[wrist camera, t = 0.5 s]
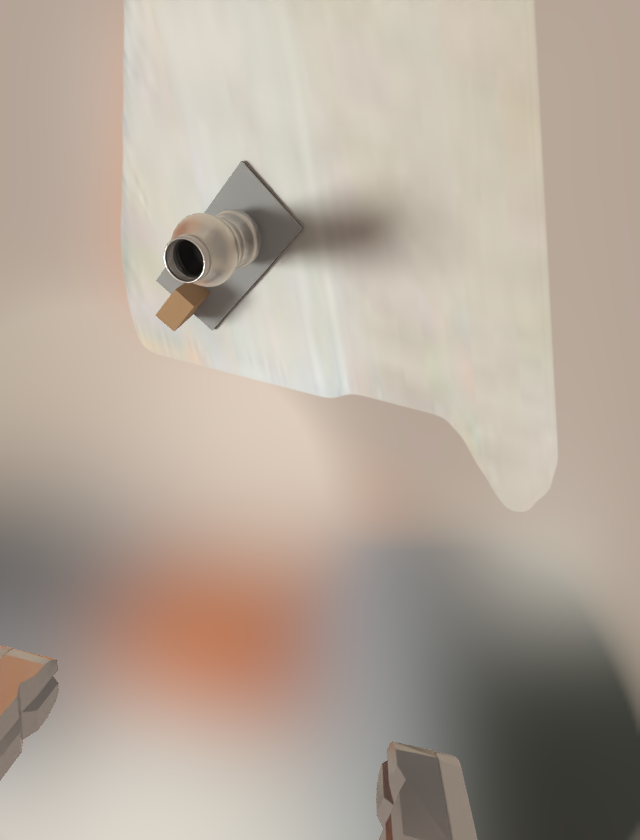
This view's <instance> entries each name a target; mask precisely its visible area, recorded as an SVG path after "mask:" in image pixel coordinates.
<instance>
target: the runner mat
mask: <svg viewBox="0 0 640 840" xmlns="http://www.w3.org/2000/svg"><path fill="white" fill-rule="evenodd" d="M227 209H238V210H241V211H243V212H245V213H247V214H248V215H249V216H250V217H251V218H253V219H254V221H255V222H256V224H257V225H258V228H259V230H260V234H261V247H260V251H259V253H258V256H257V257H256V259H255V260H254V261H253V262H252V263H251V264H250V265H248V266H246V267H243V268H236V269H235V271H234V272H233V274H232V275H231V276H230V278H229V279H227V280H226V281H225V282H224V283H222V284H220V285H218V286H214V287H204V286H199V285H196V284H194V283H182V282H180V281H178V280H176V279H175V278H174V277H172V276H171V274H170V273H169V272H168V270H167V268H165V269H164V271H163V272H162V273H161V275H160V276H159V278H158V279H157V280H156V281H157V282H158V283H159V284H161V285H162V286H163V287H164V288H165V289H166V290H167V291H168V292H170V293H171V296H170V297H169V298H168V299H167V301H166V302H165V303H164V305H163V306H162V307H161V309H160V310H159V311H158V313H157V314H156V316H157V317H158V318H159V319H160V320H161V321H163V322H164V323H165V324H166V325H167V326H168V327H170V328H171V329H172V330H173V331H175V330H176V329H177V328H178V327H180V326H181V325H182V324H183V323H184V322H185V321H186V320H188V319H189V318H190V317H191V316H192V315H193V314H194V315H195V316H197V317H198V318H199V319H200V320H201V321H202V322H203V323H204V324H206V325H207V326H208V327H209V328H210V329H211V330H213V329H214V328H215V327H216V326H217V325H218V323H219V322H220V321H221V320H222V319H223V318H224V317H225V316H226V314H227V313H228V312H229V311H230V310H231V309H232V308H233V307H234V305H235V304H236V303H237V302H238V301H239V300H240V299H241V298H242V296H243V295H244V294H245V293H246V292H247V291H248V290H249V289H250V287H251V286H252V285H253V284H254V283H255V282H256V281H257V280H258V279H259V277H260V276H261V275H262V274H263V273H264V272H265V271H266V270H267V268H268V267H269V266H270V265H271V264H272V263H273V262H274V261H275V259H276V258H277V257H278V256H279V255H280V254H281V253H282V252H283V250H284V249H285V248H286V247H287V246H288V245H289V244H290V243H291V241H292V240H293V239H294V238H295V237H296V236H297V235H298V234H299V232H300V231H301V230H302V229H303V228H302V227H301V226H300V224H299V223H298V222H297V221H296V220H295V219H294V218H293V217H292V216H291V214H290V213H289V212H288V211H287V210H286V209H285V208H284V207H283V205H282V204H281V203H280V202H279V201H278V200H277V199H276V198H275V197H274V195H273V194H272V193H271V192H270V191H269V190H268V189H267V188H266V186H265V185H264V184H263V183H262V182H261V181H260V180H259V179H258V178H257V176H256V175H255V174H254V173H253V172H252V171H251V170H250V169H249V167H248V166H247V165H246V164H245V163H244V162H243V161H241V162H240V164H239V165H238V167H237V168H236V169H235V171H234V172H233V174H232V175H231V176H230V178H229V179H228V181H227V182H226V183H225V185H224V186H223V188H222V189H221V190H220V192H219V193H218V195H217V196H216V197H215V199H214V200H213V202H212V203H211V204H210V206H209V207H208V209H207V210H206V211H205V213H204V214H210V215H213V216H216V215H218V214H219V213H220V212H222V211H224V210H227Z"/></svg>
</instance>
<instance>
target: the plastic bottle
mask: <svg viewBox="0 0 640 840" xmlns="http://www.w3.org/2000/svg"><path fill="white" fill-rule="evenodd" d="M260 247H261V234H260V230H259V228H258V225H257V224H256V222H255V221H254V219H253V218H251V217H250V216H249V215H248V214H247V213H245V212H243V211H241V210H238V209H227V210H224V211H222V212H220V213H219V214H218V215H216V216H213V215H210V214H204V213H197V214H192V215H189V216H187V217H185V218H184V219H183V220H182V221H181V222H180V223H179V224H178V225H177V227H176V228H175V230H174V232H173V235H172V238H171V241H170V242H169V243H168V244H167V246H166V248H165V251H164V263H165V266H166V268H167V270H168V272H169V273H170V274H171V276H172V277H174V278H175V279H176V280H178V281H180V282H182V283H194V284H196V285H199V286H204V287H214V286H218V285H220V284H222V283H224V282H225V281H226V280H227V279H229V278H230V276H231V275H232V274H233V272H234V271H235V269H236V268H243V267H246V266H248V265H250V264H251V263H252V262H253V261H254V260H255V259H256V257H257V256H258V253H259V251H260Z"/></svg>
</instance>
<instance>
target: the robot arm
mask: <svg viewBox="0 0 640 840" xmlns="http://www.w3.org/2000/svg"><path fill="white" fill-rule="evenodd" d="M57 670H58V665H57V660H56V659H52V658H48V657H44V656H40V655H36V654H32V653H28V652H24V651H20V650H17V649H14V648H10V647H6V646H1V645H0V780H1V779H2V777H3V776H4V775H5V773H6V772H7V771H8V769H9V768H10V767H11V765H12V764H13V763H14V761H15V760H16V759H17V757H18V756H19V755H20V753H21V751H22V744H23V739H24V738H26V737H28V736H29V735H31V734H32V733H34V732H36V731H37V730H38V729H39V728H40V726H41V725H42V724H43V722H44V721H45V720H46V718H47V716H48V715H49V713H50V711H51V709H52V707H53V705H54V703H55V701H56V698H57V694H58V682H57V681H56V679H55V678H54V677H53V675H54V674H55V673H56V672H57ZM387 757H388V760H387V761H385V762H384V763H382V766H381V768H380V771H379V776H378V783H377V798H376V800H377V801H376V802H377V816H378V819H379V821H380V823H381V825H382V827H383V831H382V834H381V836H380V838H379V840H477V835H476V831H475V827H474V822H473V818H472V813H471V809H470V804H469V801H468V796H467V791H466V787H465V783H464V778H463V774H462V769H461V765H460V763H459V761H458V759H457V758H456V757H455V756H452V755H447V754H443V753H439V752H435V751H433V750H428V749H424V748H419V747H415V746H411V745H406V744H402V743H397V742H391V743H390V745H389V747H388V750H387Z"/></svg>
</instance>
